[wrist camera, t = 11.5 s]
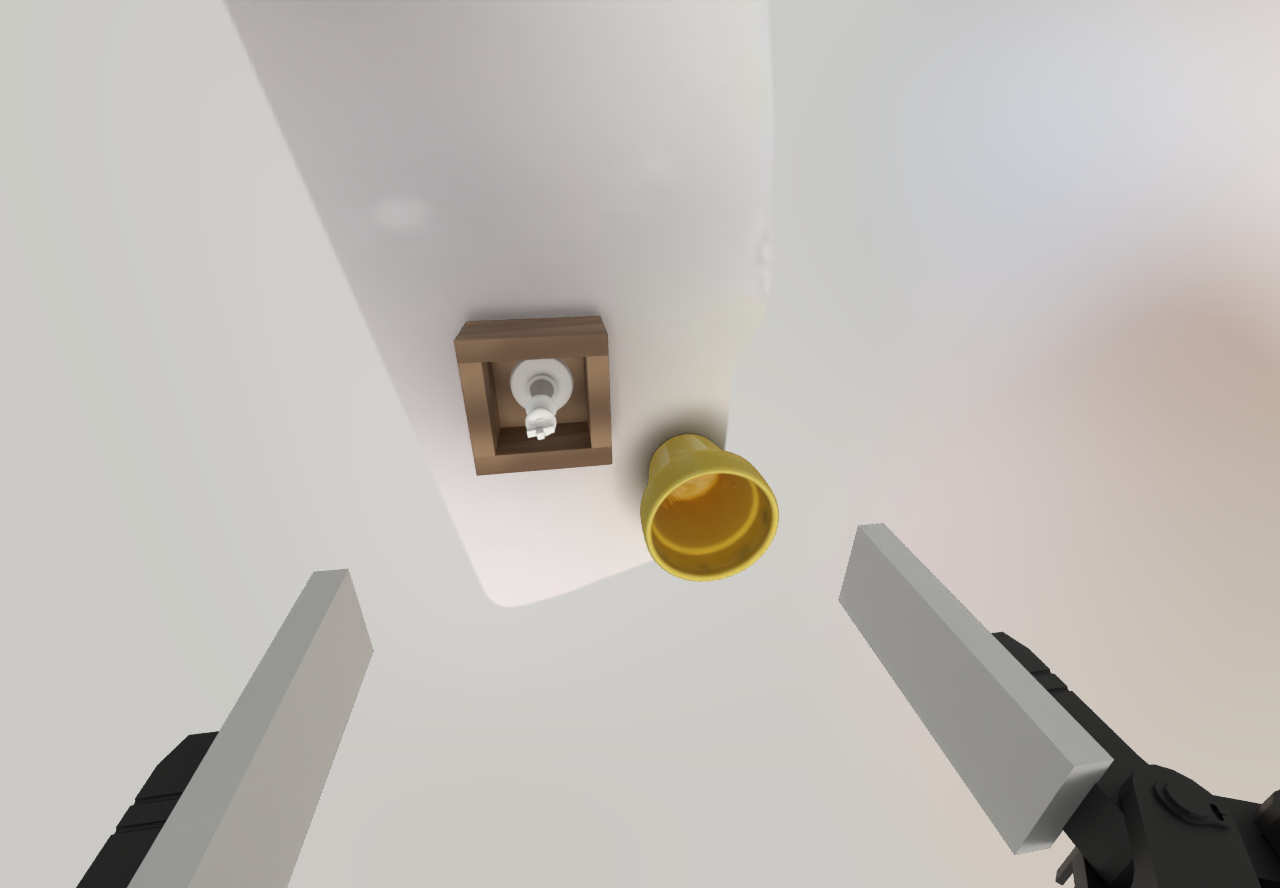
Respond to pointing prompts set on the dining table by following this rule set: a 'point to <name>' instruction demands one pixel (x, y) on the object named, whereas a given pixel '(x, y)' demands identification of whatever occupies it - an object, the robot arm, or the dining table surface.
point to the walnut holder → (501, 418)
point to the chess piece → (541, 392)
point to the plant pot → (705, 510)
